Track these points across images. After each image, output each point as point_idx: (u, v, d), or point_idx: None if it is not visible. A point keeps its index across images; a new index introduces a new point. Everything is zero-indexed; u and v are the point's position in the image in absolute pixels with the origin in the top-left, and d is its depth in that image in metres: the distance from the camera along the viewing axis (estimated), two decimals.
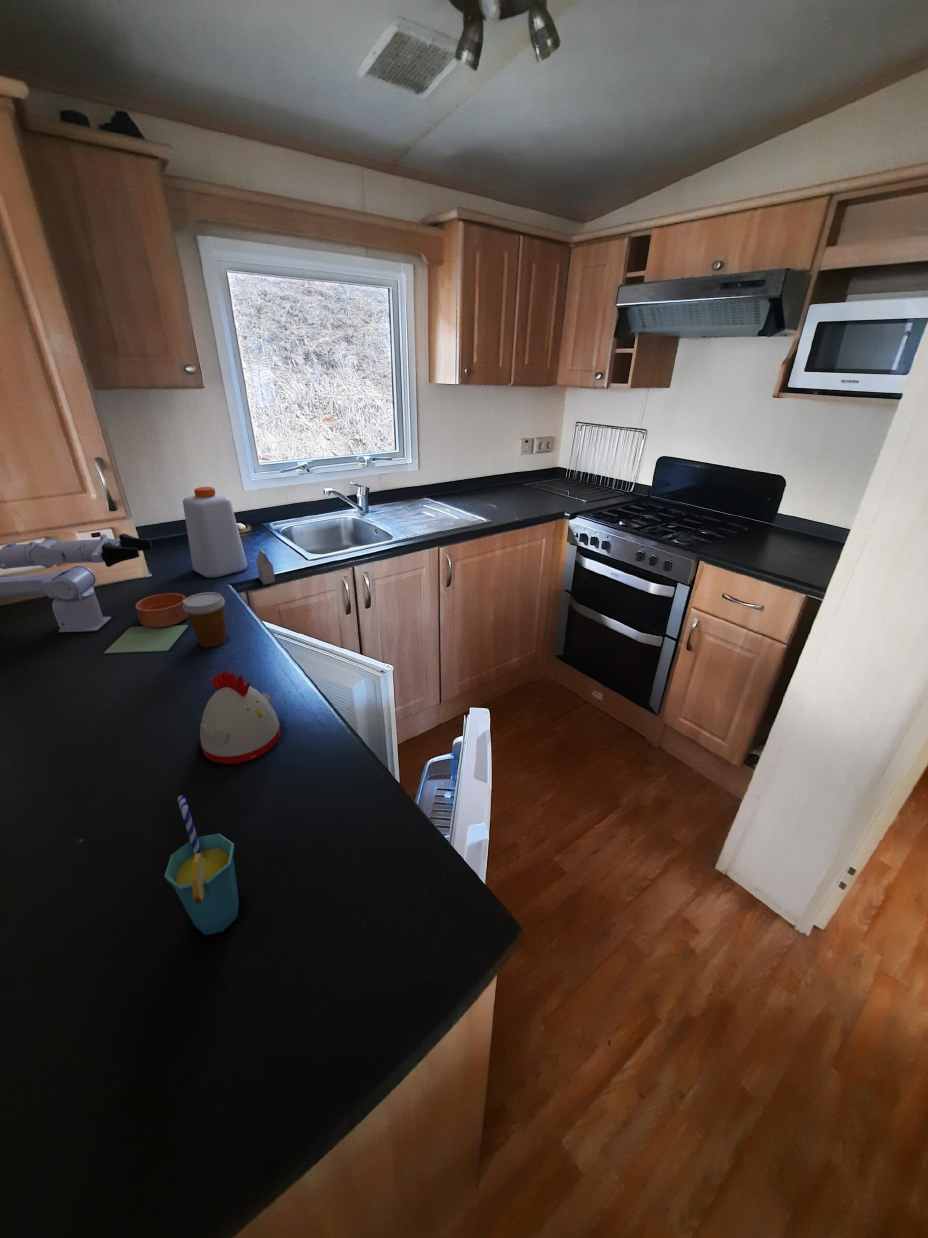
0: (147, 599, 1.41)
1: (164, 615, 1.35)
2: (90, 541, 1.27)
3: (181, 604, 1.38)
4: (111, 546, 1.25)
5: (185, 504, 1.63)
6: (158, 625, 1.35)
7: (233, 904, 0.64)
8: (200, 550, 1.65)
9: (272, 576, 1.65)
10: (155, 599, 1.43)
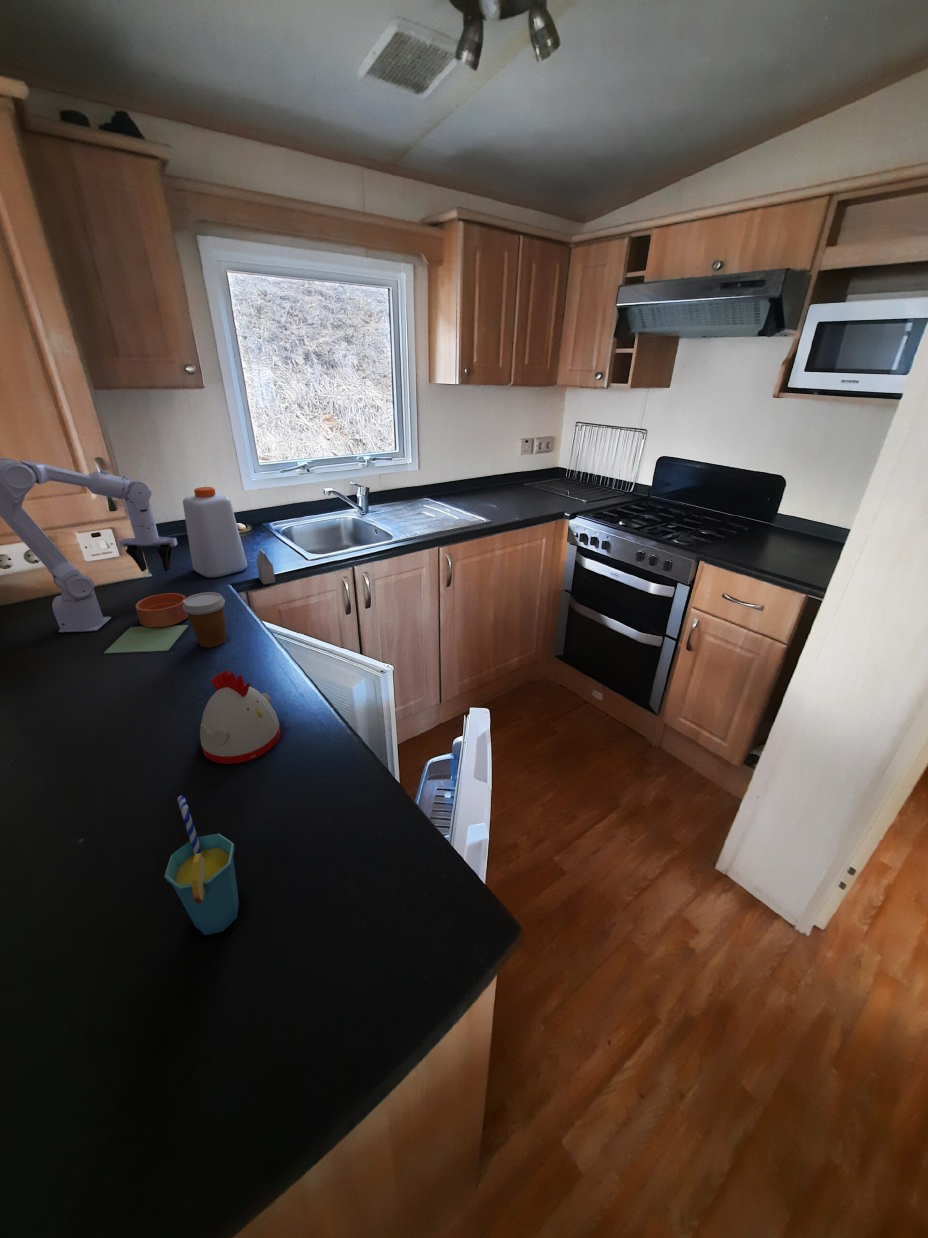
0: (147, 599, 1.41)
1: (164, 615, 1.35)
2: None
3: (181, 604, 1.38)
4: None
5: (185, 504, 1.63)
6: (158, 625, 1.35)
7: (233, 904, 0.64)
8: (200, 550, 1.65)
9: (272, 576, 1.65)
10: (155, 599, 1.43)
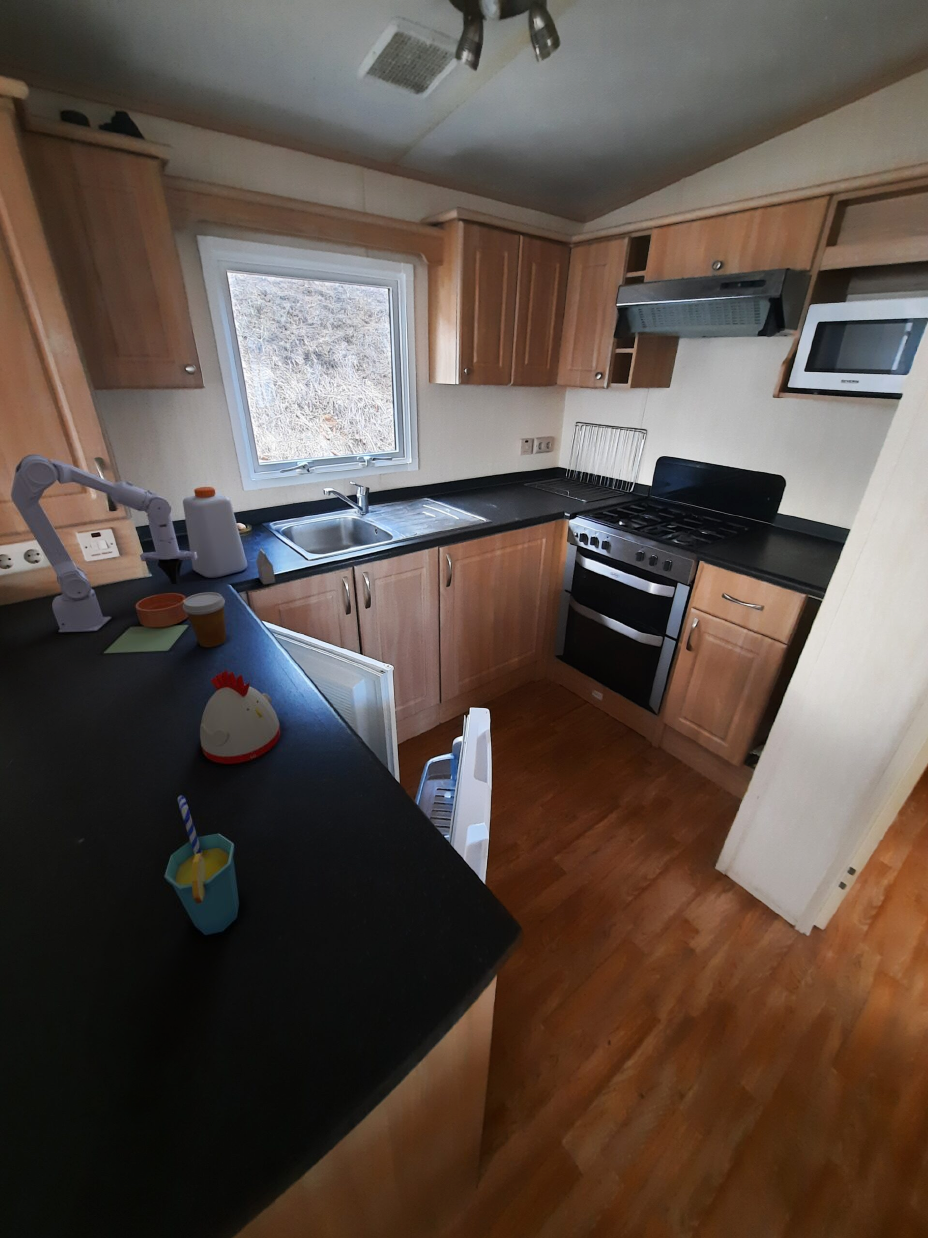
0: (147, 599, 1.41)
1: (164, 615, 1.35)
2: None
3: (181, 604, 1.38)
4: None
5: (185, 504, 1.63)
6: (158, 625, 1.35)
7: (233, 904, 0.64)
8: (200, 550, 1.65)
9: (272, 576, 1.65)
10: (155, 599, 1.43)
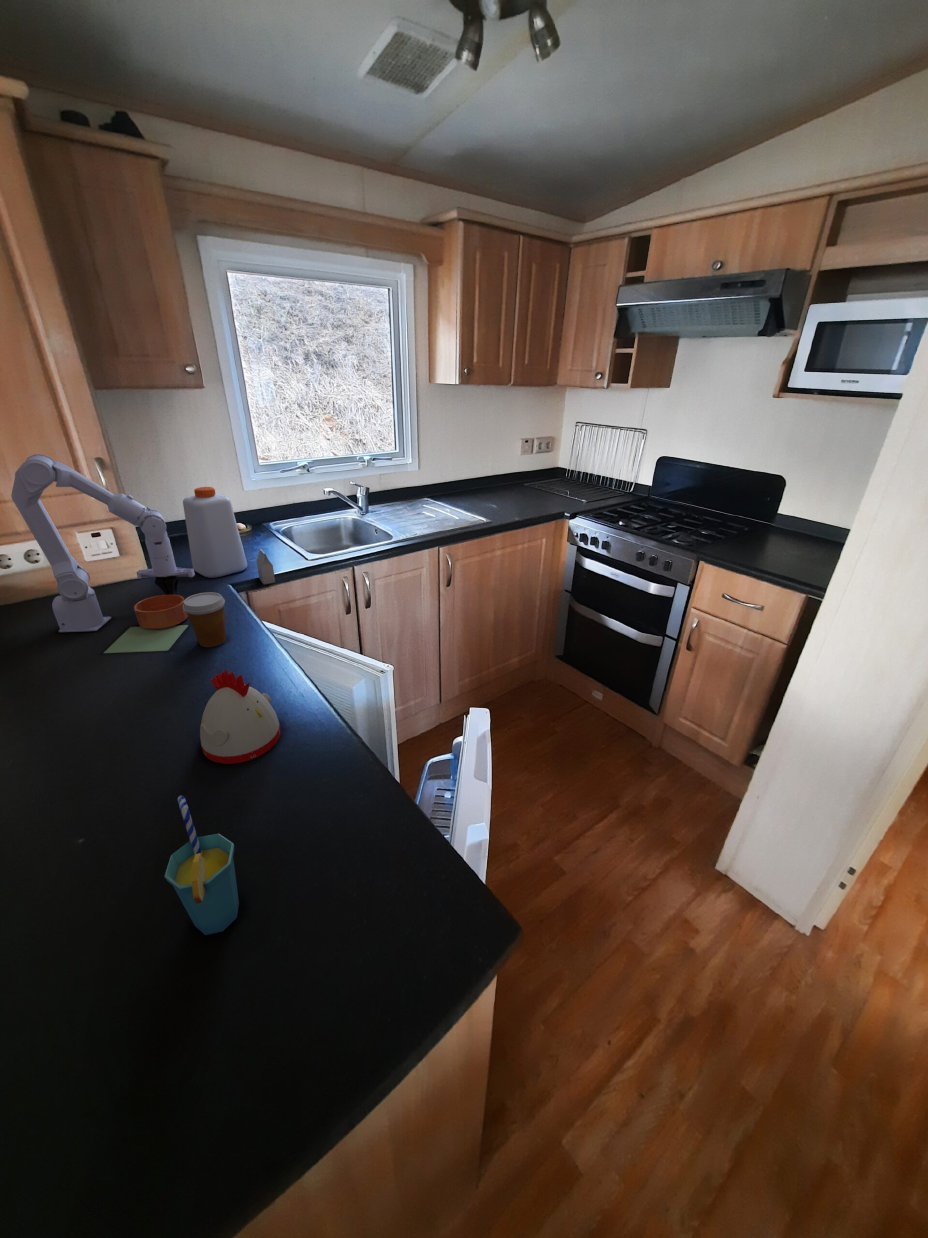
0: (146, 600, 1.40)
1: (163, 616, 1.34)
2: None
3: (180, 605, 1.37)
4: None
5: (185, 504, 1.63)
6: (157, 627, 1.35)
7: (233, 904, 0.64)
8: (200, 550, 1.65)
9: (272, 576, 1.65)
10: (154, 600, 1.42)
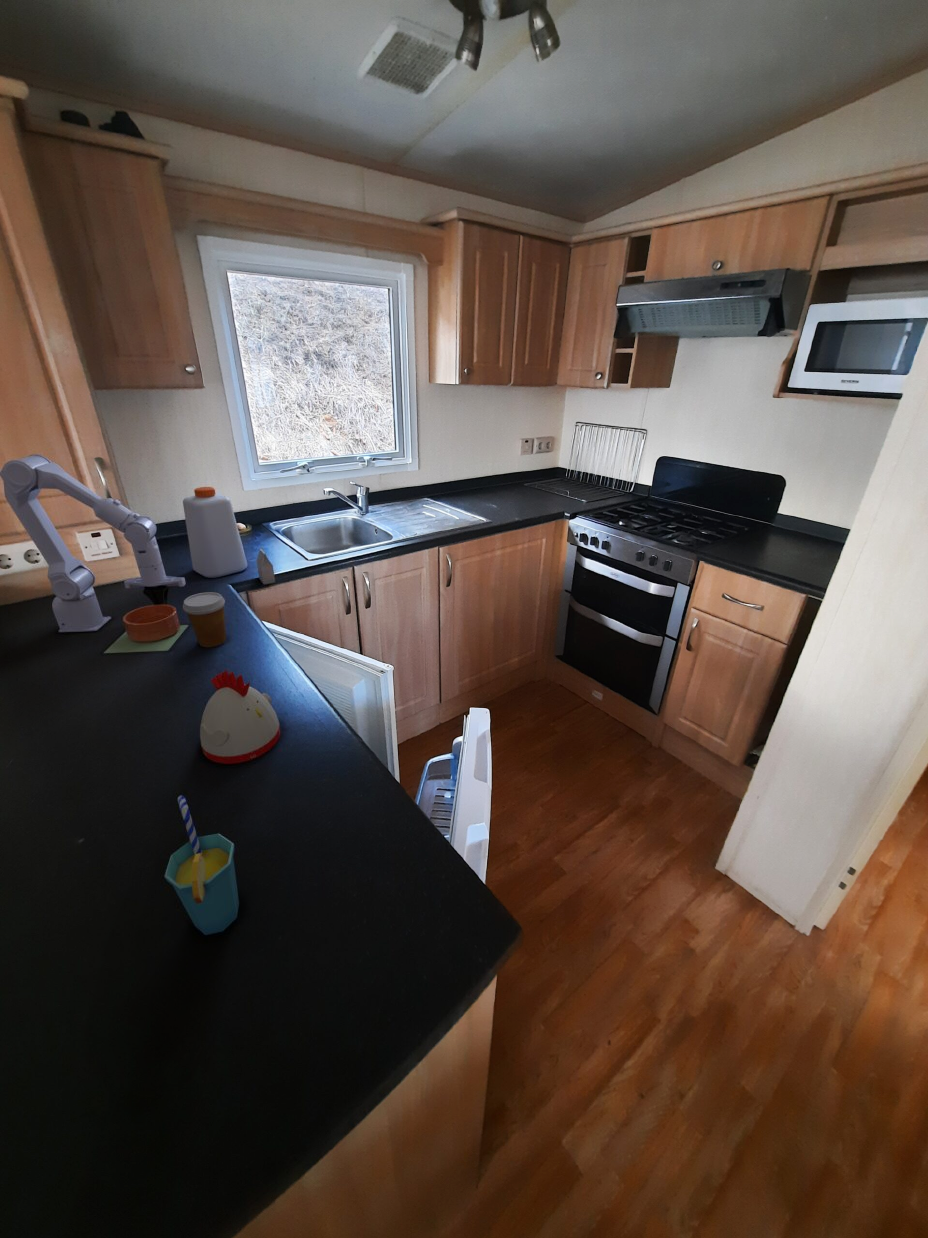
0: (135, 611, 1.34)
1: (154, 629, 1.28)
2: None
3: (172, 616, 1.31)
4: None
5: (185, 504, 1.63)
6: (148, 639, 1.28)
7: (233, 904, 0.64)
8: (200, 550, 1.65)
9: (272, 576, 1.65)
10: (143, 611, 1.35)
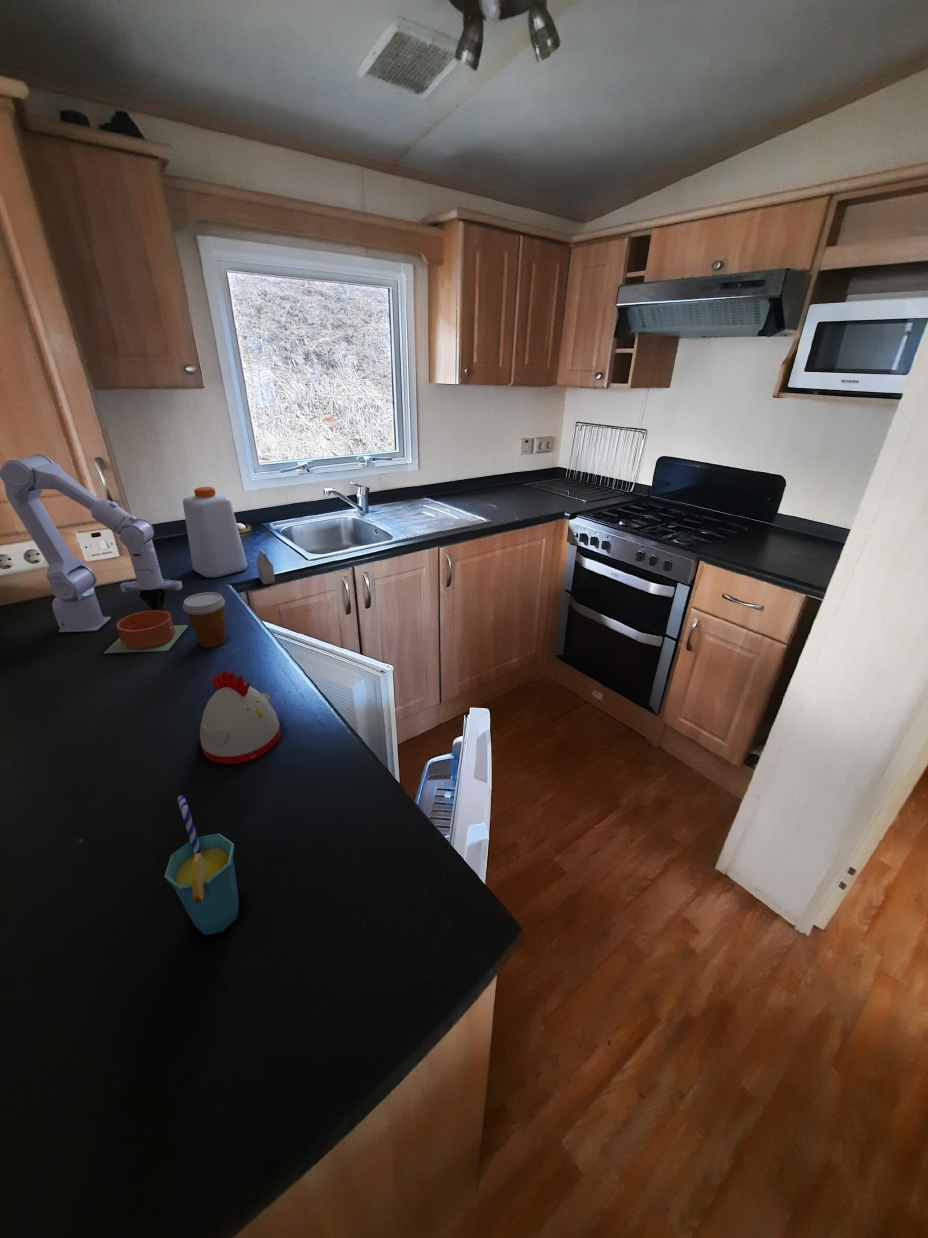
0: (128, 617, 1.30)
1: (149, 635, 1.25)
2: None
3: (167, 622, 1.28)
4: None
5: (185, 504, 1.63)
6: (143, 646, 1.25)
7: (233, 904, 0.64)
8: (200, 550, 1.65)
9: (272, 576, 1.65)
10: (137, 617, 1.32)
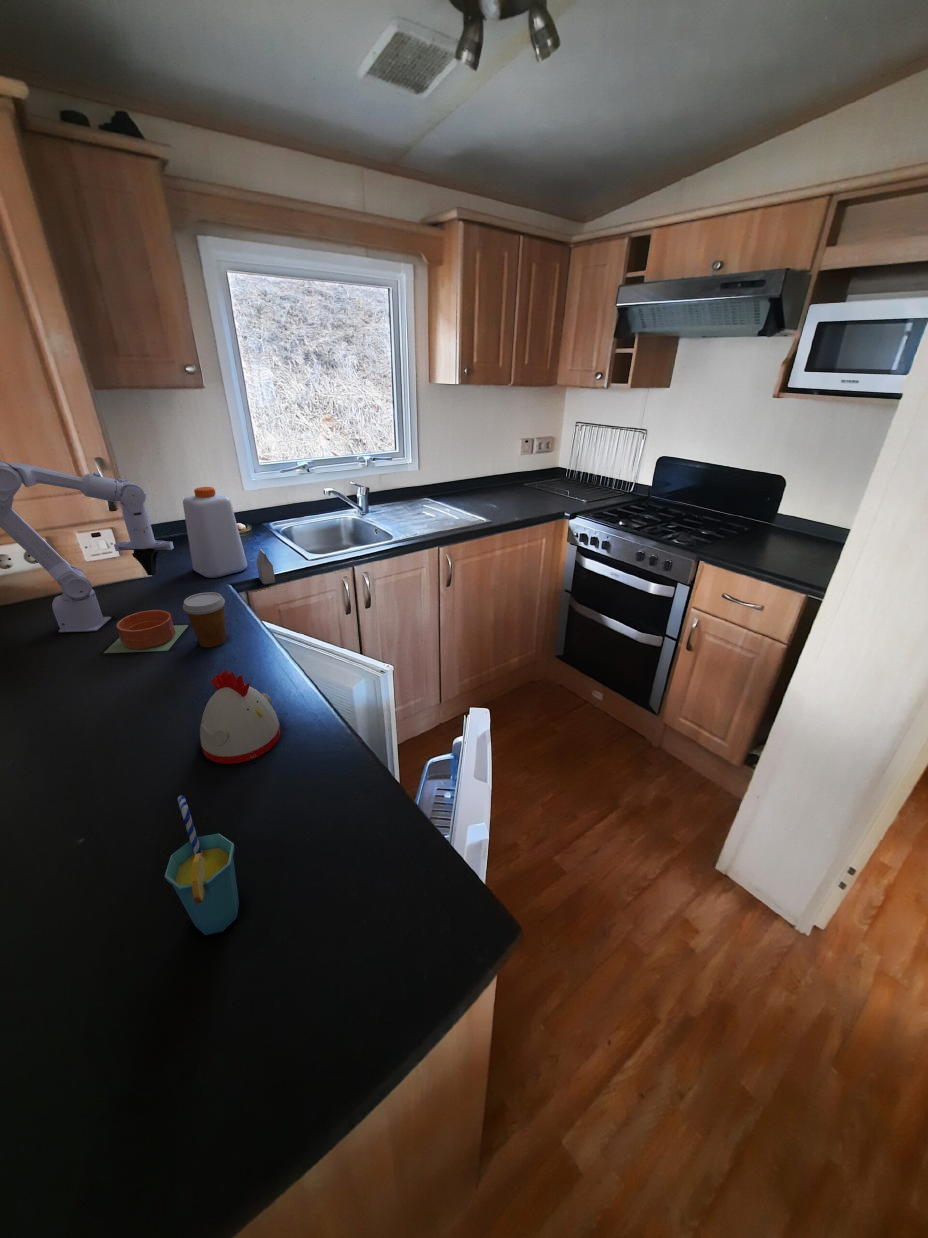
0: (128, 617, 1.30)
1: (149, 635, 1.25)
2: None
3: (167, 622, 1.28)
4: None
5: (185, 504, 1.63)
6: (143, 646, 1.25)
7: (233, 904, 0.64)
8: (200, 550, 1.65)
9: (272, 576, 1.65)
10: (137, 617, 1.32)
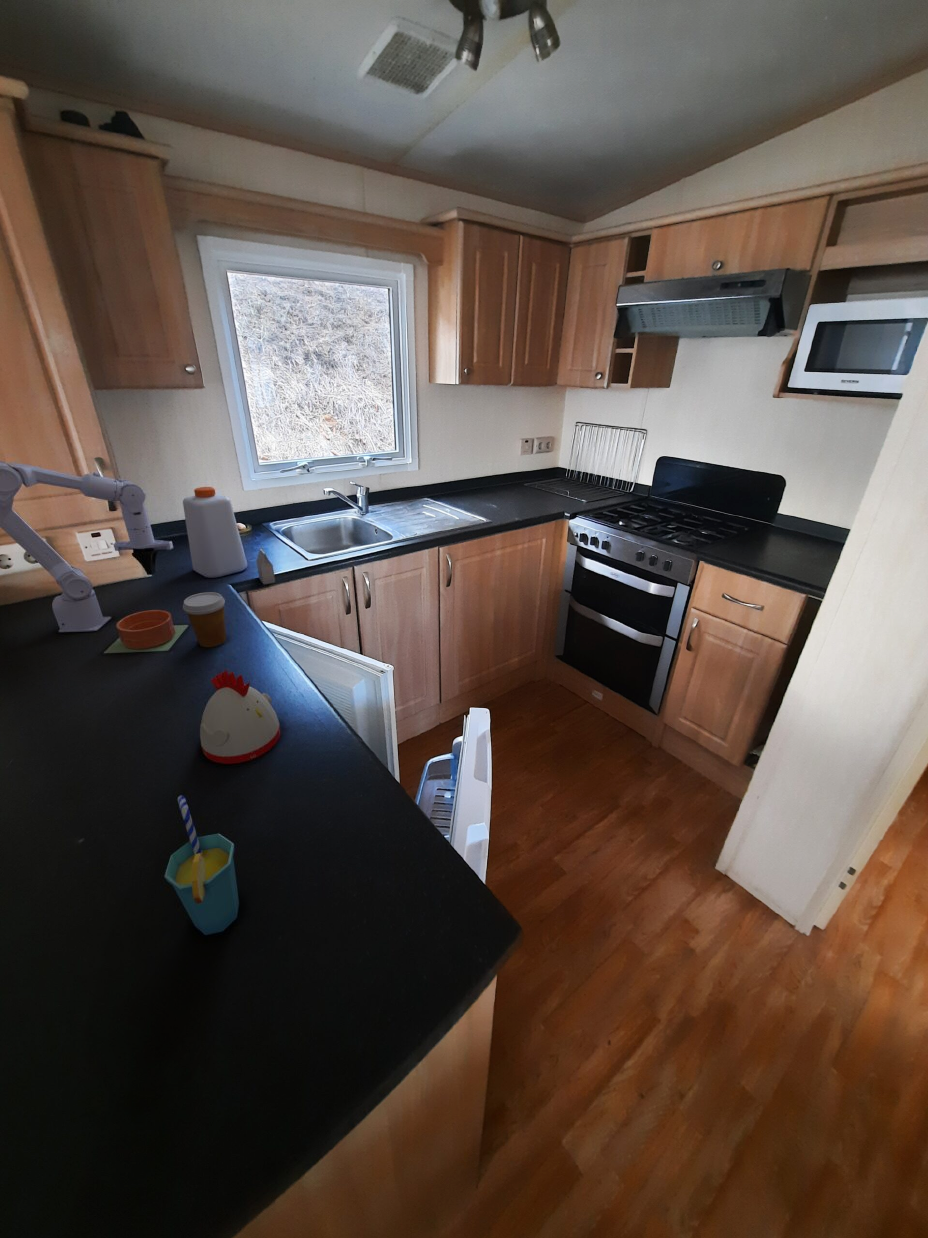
0: (128, 617, 1.30)
1: (149, 635, 1.25)
2: None
3: (167, 622, 1.28)
4: None
5: (185, 504, 1.63)
6: (143, 646, 1.25)
7: (233, 904, 0.64)
8: (200, 550, 1.65)
9: (272, 576, 1.65)
10: (137, 617, 1.32)
